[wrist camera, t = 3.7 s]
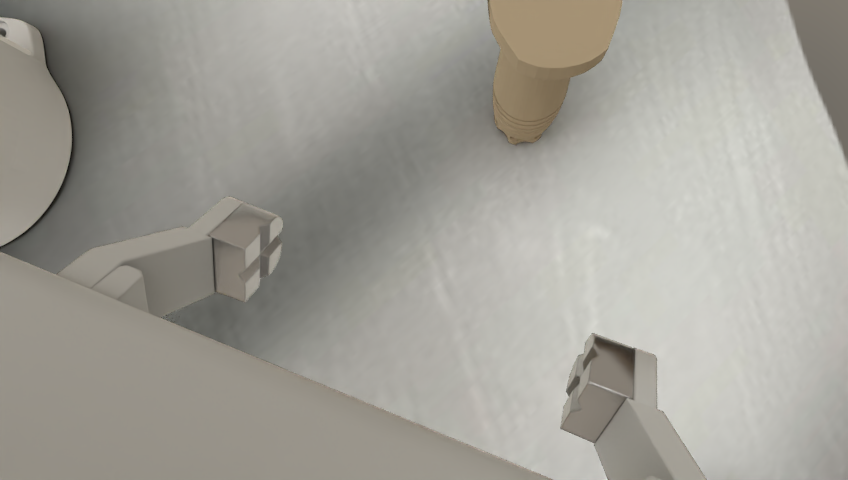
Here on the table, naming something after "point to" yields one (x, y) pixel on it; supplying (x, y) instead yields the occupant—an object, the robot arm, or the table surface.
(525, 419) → the table surface
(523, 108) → the handle
